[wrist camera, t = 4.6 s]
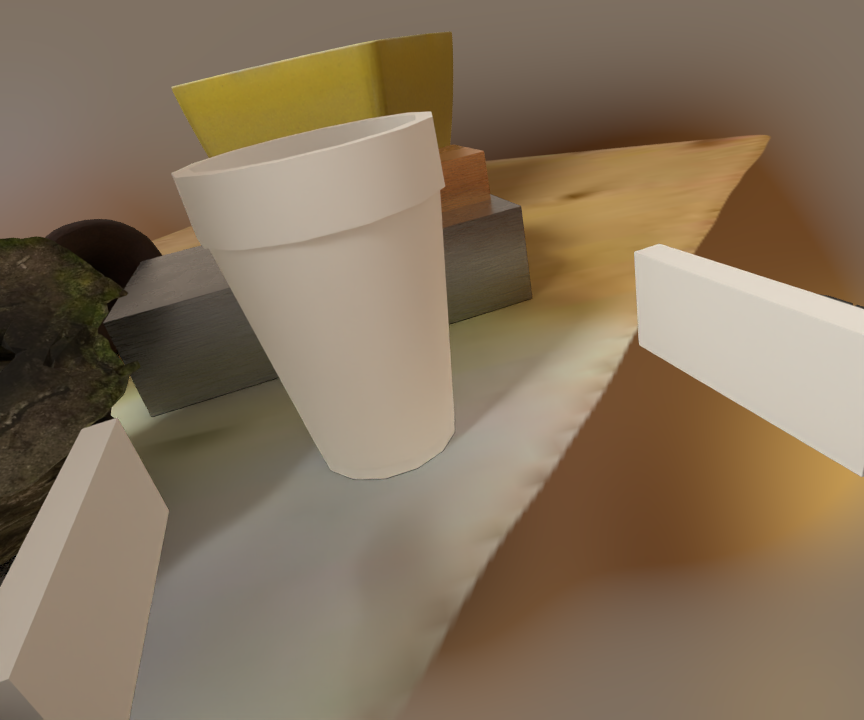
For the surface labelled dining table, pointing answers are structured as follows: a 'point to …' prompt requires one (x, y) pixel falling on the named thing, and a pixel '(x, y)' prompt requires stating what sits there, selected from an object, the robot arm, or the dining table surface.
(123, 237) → the pipe
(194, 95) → the flower pot
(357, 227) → the foam cup
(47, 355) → the moss-covered rock
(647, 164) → the dining table surface
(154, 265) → the block
